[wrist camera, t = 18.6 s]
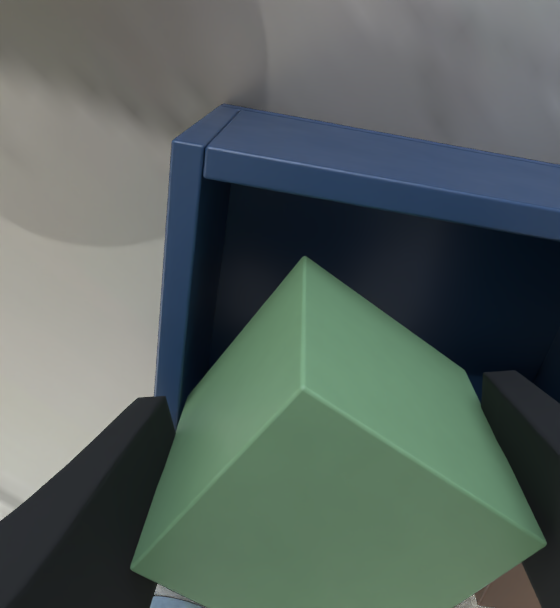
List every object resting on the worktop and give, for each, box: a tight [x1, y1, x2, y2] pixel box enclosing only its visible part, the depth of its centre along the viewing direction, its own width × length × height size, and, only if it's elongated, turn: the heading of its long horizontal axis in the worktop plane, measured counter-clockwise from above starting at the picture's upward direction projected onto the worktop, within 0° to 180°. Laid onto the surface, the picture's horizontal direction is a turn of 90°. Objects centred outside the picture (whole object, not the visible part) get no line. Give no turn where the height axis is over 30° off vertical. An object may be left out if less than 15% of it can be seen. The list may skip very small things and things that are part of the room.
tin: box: [154, 104, 560, 432], centre depth 14 cm, size 12×10×6 cm
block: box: [130, 256, 547, 608], centre depth 10 cm, size 5×5×5 cm
